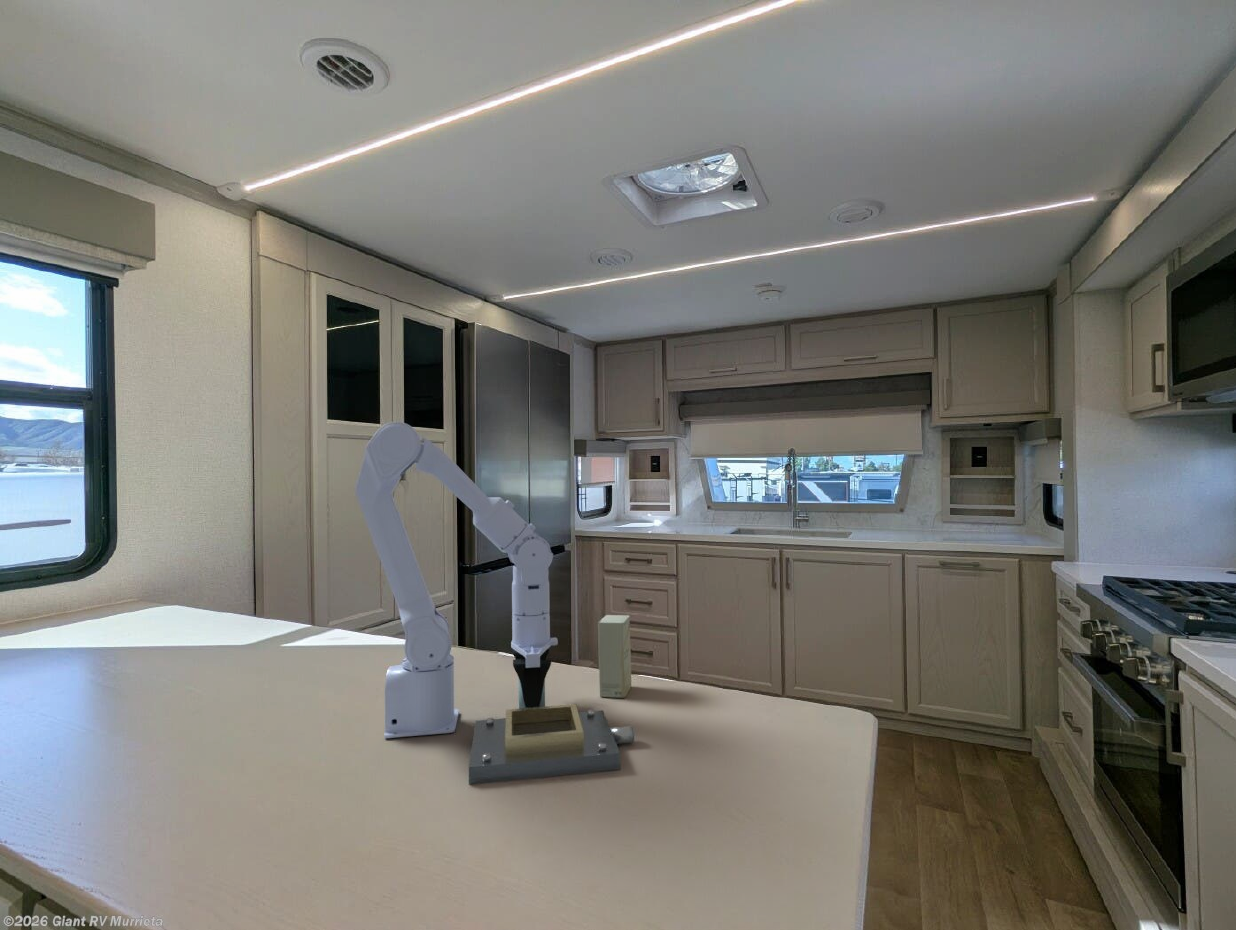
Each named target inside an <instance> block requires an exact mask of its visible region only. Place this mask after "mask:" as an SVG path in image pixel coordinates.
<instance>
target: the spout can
mask: <svg viewBox="0 0 1236 930" xmlns="http://www.w3.org/2000/svg"><path fill="white" fill-rule="evenodd" d="M539 707H546V680H545V681H544V685H543V691H542V697H541V702H540V706H539ZM521 708H526V707H525V704H524V700H523V694H522V688H521V683H520V680H519V679H518V709H521ZM531 708H534V707H531Z"/></svg>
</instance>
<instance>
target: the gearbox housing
mask: <svg viewBox="0 0 1236 930" xmlns="http://www.w3.org/2000/svg"><path fill="white" fill-rule="evenodd" d="M634 742H635V729H634V726H633V725H629V726H628V725H627V726H614V727H611V726H610V725H609V722H608V720H607V716H606V714H605V711H604V710H594V709H587V711H579V712H578V708H577V704H575V703H573V704H561V705H550V706H549V705H548V706H546V705H545V707H534V708H521V709H519V708H511V709H510V708H509V709H505V718H504V717H503V718H493V717H487V718H486V719H480V720H475V722H474V730H473V737H472V744H471V749H470V755H469V756H470V757H469V762H468V785H469V786H471V785H480V784H489V783H498V782H499V783H500V782H508V781H509V782H510V781H518V780H521V781H522V780H529V779H538V778H539V779H540V778H541V779H542V778H549V777H558V776H559V777H562V776H570V775H580V774H590V773H599V772H611V771H619V770H620V771H621V752H620V749H619V747H618V744H627V743H629V744H630V743H634Z"/></svg>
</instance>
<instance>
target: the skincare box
mask: <svg viewBox="0 0 1236 930" xmlns="http://www.w3.org/2000/svg"><path fill="white" fill-rule="evenodd" d="M630 618H631V617H630V615H628V614H627V615H626V614H623V615H622V614H617V615H616V614H605V615H604V616H603V617H602V618H601V619H600V620H599V621H598V622H597V623H598V624H597V629H598V631H597V632H598V639H597V640H598V671H599V673H598V678H599V697H605V698H616V699H617V698H618V699H619V698H623V699H625V698H626V697H627V695H628V693H629V691H630V689H631V687H632V654H631V653H632V651H631V650H632V649H631V621H630Z"/></svg>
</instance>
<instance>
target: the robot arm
mask: <svg viewBox="0 0 1236 930" xmlns="http://www.w3.org/2000/svg"><path fill="white" fill-rule="evenodd" d="M421 439H422V442H421ZM421 439H420V436H419V433H418V432H417V431H416V429H415V428H414V427H413V426H411V425H410V424H408V423H405V422H401V421H391V422H388V423H385V424H383V425H382V426H380V428H378V429H377V430H376V432H375V433H374V434H373V436H372V437H371V439H370V440H368V443H367V444H366V445H365V450H364V456H363V460H362V463H361V467H360V470H359V474H358V476H357V481H356V484H355V489H354V490H355V496H356V499H357V502H358V503H359V507H360V509H361V513H362V515H363V518H364V520H365V522H366V523H365V524H366V526H367V529H368V531H369V533H370V536H371V539H372V541H373V544H374V547H375V550H376V552H377V554H378V557H379V561H380V563H381V565H382V568H383V571H384V573H385V576H386V579H387V581H388V584H389V587H390V590H391V591H392V594H393V597H394V600H395V603H396V606H397V609H398V613H399V617H400V621H401V625H402V628H403V631H404V636H405V640H404V647H403V648H404V655H405V658H403V660H402V663H401V664H398V665H391V666H389V667H388V668H387V672H386V676H385V683H384V685H385V686H384V734H383V738H384V739H392V738H393V739H394V738H404V737H414V736H415V737H416V736H428V735H429V736H430V735H439V734H440V735H441V734H450V733H454V732H456V731H455V730H456V727H457V723H458V719H459V715H460V709H458V708H455V667H454V666H455V664H454V660H455V659H454V658H455V657H454V656H453V655H452V654H451V651H452V643H453V642H452V637H451V635H450V624H449V622H448V619H446V617H445V616H444V615H442V614H441V613H440V612H439V611H438V610H437V608H436V606H435V603H434V601H433V598H432V596H431V594H430V592H429V590H428V587H427V584H426V582H425V579H424V576H423V573H422V571H421V567H420V565H419V563H418V559H417V557H416V554H415V552H414V549H413V547H412V544H411V541H410V539H409V536H408V533H407V530H406V527H405V525H404V522H403V520H402V517H401V514H400V512H399V508H398V506H397V503H396V501H395V498H394V494H393V493H394V491H395V489H396V488H397V487H398V484H399V482H400V480H401V478H402V476H403V475H404V473H405V472H406V471H408V470H409V469H411V467H412V466H413V465H414V464H415V463H416V464H415V467H414V471H416V472H417V471H418V472H421V473H424V474H426V475H431V476H433V477H435V478H436V479H437V480H438V481H439V482H440V483H442V484H443V485H444V486H445V488H447V490H449V491H450V492H451V493H452V494H453V495H454V496H455V497H456V498H458V499H459V500H460V501H461V502H462V503H463V504H464V505H465V506H467V507H468V509H470V510H471V511H472V515H473V517H472V524H473V526H474V527H476V529H477V530H478V531H480V532H481V534H483V535H484V536H485V537H486V538H487V540H488V541H490V542H491V543H492V544H493V545H494V546H495V547H496V548H497V549H498V550H499V551H500V552H502V553H504V554H506V553H507V554H508V558H509V561H510V563H512V564H514V565H512V581H511V582H512V583H511V612H512V613H511V614H512V615H511V620H512V621H511V622H512V623H511V625H512V627H511V629H512V630H511V631H512V633H511V634H512V636H511V637H512V640H511V642H510V646H511V649H512V654H513V656H514V658H515V659H513V660H512V667H513V669H514V671H515V672H516V673H515V674H516V675H517V677H518V681H519V680H520V683H521V688H522V694H523V700H524V704H525V707H526V708H531V707H539V706H540V702H541V697H542V691H543V685H544V681H545V682H546V678H547V674H548V672H549V670H550V667H551V666H552V660H551V659H550V658H549V659H547V657H548V655H549V653H550V648H551V646H557V645H558V644H559V643H558V642H559V641H558V638H557V637H551V627H550V626H551V623H550V621H551V620H550V618H551V616H550V605H551V604H550V602H551V601H550V581H549V573H550V572H549V567H550V566H551V564H552V562H553V558H554V553H553V552H552V550H551V545H550V544H549V543H548V541H547V540H546V539H545V538H543V537H542V536H540V535H539V534H538V533H536V532H534V531H535V530H536V528H537V527H536V526H535V525H534V524H532V523H527V522H526V521H525V519H523V518H522V517H521V515H519V514H518V513H517V512H516V511H515V510H514V507H515V504H514V503H512V502H511V500H510V499H509V500H508V499H506V501H505V500H504V499H503V497H499V496H496V497H495V496H493V497H491V496H490V497H489V496H487V494H485V493H484V491H483V490H481V488H479V487H478V485H477V484H476V483H474V481H473V480H472V479H471V478H470V477H469V476H468V475H467V474H466V473H465V472H464V471H463V470H462V469H461V468H460V467H459V465H458V464H456V462H454V460H452V459H451V458H450V457H449V456H448V454H447V453H445V451H443V450H442V449H441V448H439V447H438V446H437V445H436V444H435V443H433V442H432V441H430V440H429V439H427V437H425V436H422V437H421Z"/></svg>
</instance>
